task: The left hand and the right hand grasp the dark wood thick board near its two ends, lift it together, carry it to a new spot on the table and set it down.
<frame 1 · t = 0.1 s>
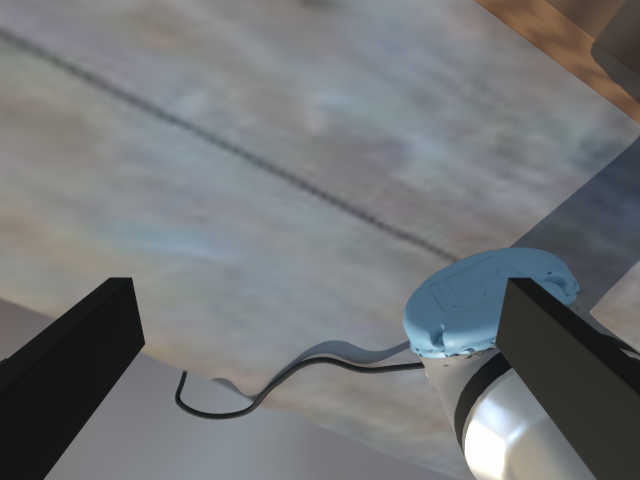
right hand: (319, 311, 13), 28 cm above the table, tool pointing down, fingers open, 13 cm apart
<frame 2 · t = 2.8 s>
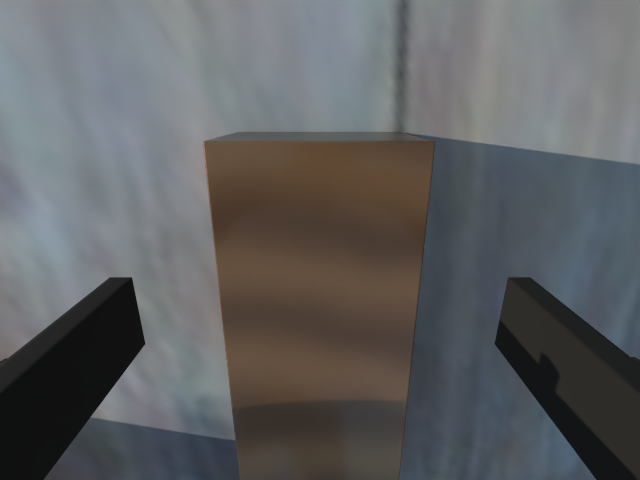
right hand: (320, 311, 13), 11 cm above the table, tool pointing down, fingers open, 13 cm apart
thick board: (319, 454, 30), on the table, touching left hand
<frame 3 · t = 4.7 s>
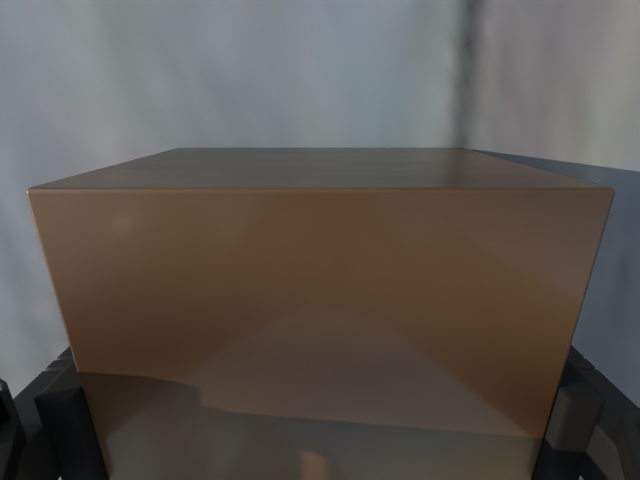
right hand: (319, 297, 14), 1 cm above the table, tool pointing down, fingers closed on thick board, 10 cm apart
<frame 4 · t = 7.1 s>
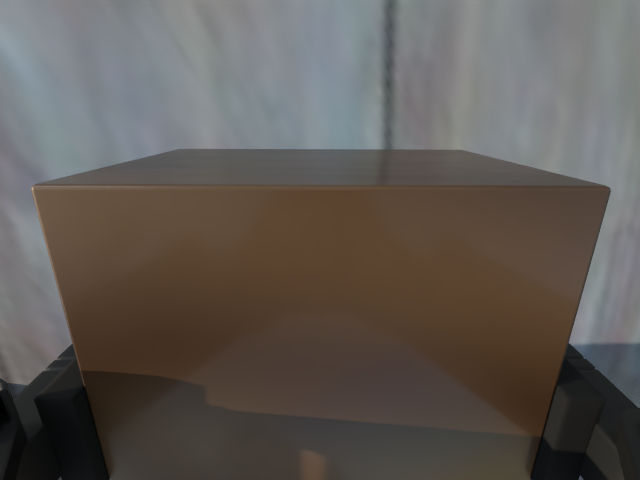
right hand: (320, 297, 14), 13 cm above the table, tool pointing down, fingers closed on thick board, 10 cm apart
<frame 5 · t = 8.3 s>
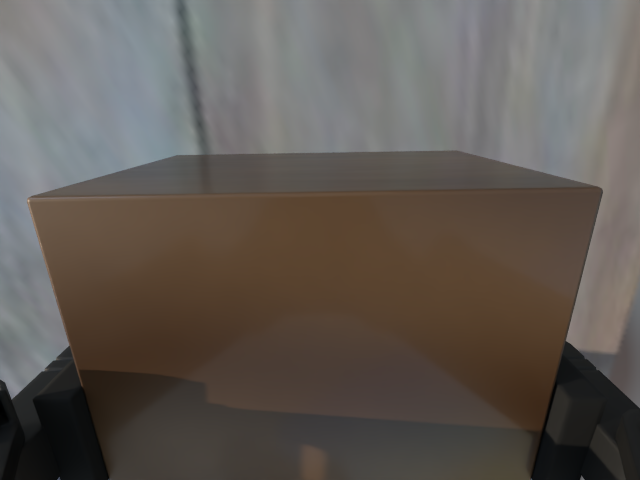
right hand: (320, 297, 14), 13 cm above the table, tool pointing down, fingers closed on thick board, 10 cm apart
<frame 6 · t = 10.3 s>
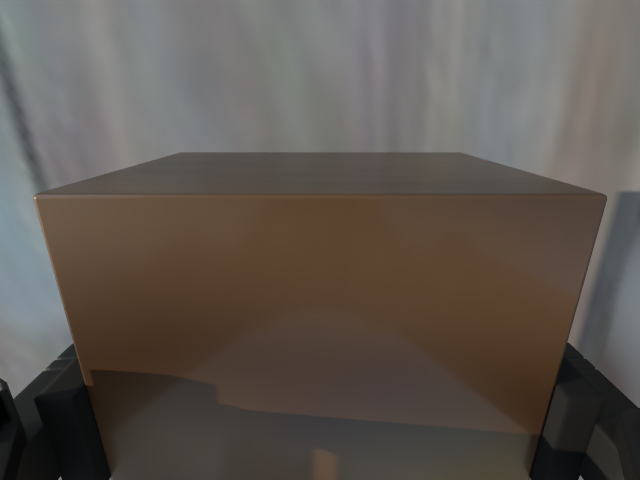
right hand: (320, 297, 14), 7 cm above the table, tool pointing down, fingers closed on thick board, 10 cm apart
when the left hand's fingers open (2 cm above the table, at t = 11.7 s): thick board drops 1 cm, on the table.
when the right hand's fingers open (2 cm above the table, at t = 11.7 s): thick board drops 1 cm, on the table.
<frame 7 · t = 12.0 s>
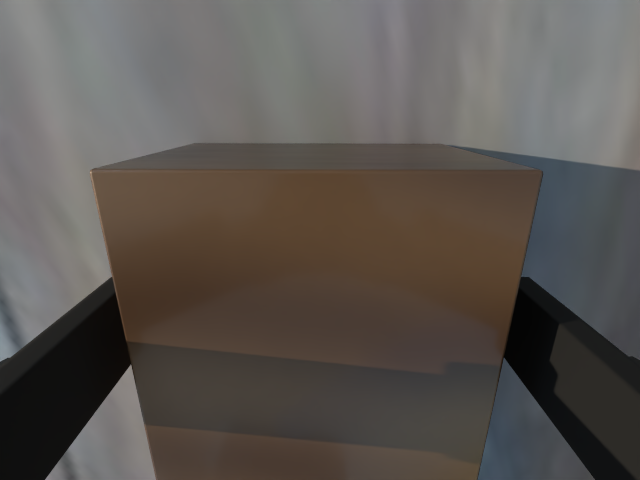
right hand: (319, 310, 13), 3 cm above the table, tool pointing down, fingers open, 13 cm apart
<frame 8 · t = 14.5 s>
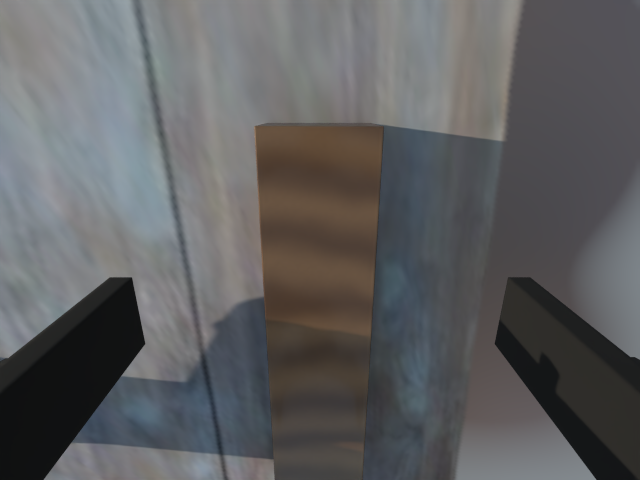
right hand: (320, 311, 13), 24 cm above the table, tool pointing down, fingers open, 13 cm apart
thick board: (318, 356, 42), on the table
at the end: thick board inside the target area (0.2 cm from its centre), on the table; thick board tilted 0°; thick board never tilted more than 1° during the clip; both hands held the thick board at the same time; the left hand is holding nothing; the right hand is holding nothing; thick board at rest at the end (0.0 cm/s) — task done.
